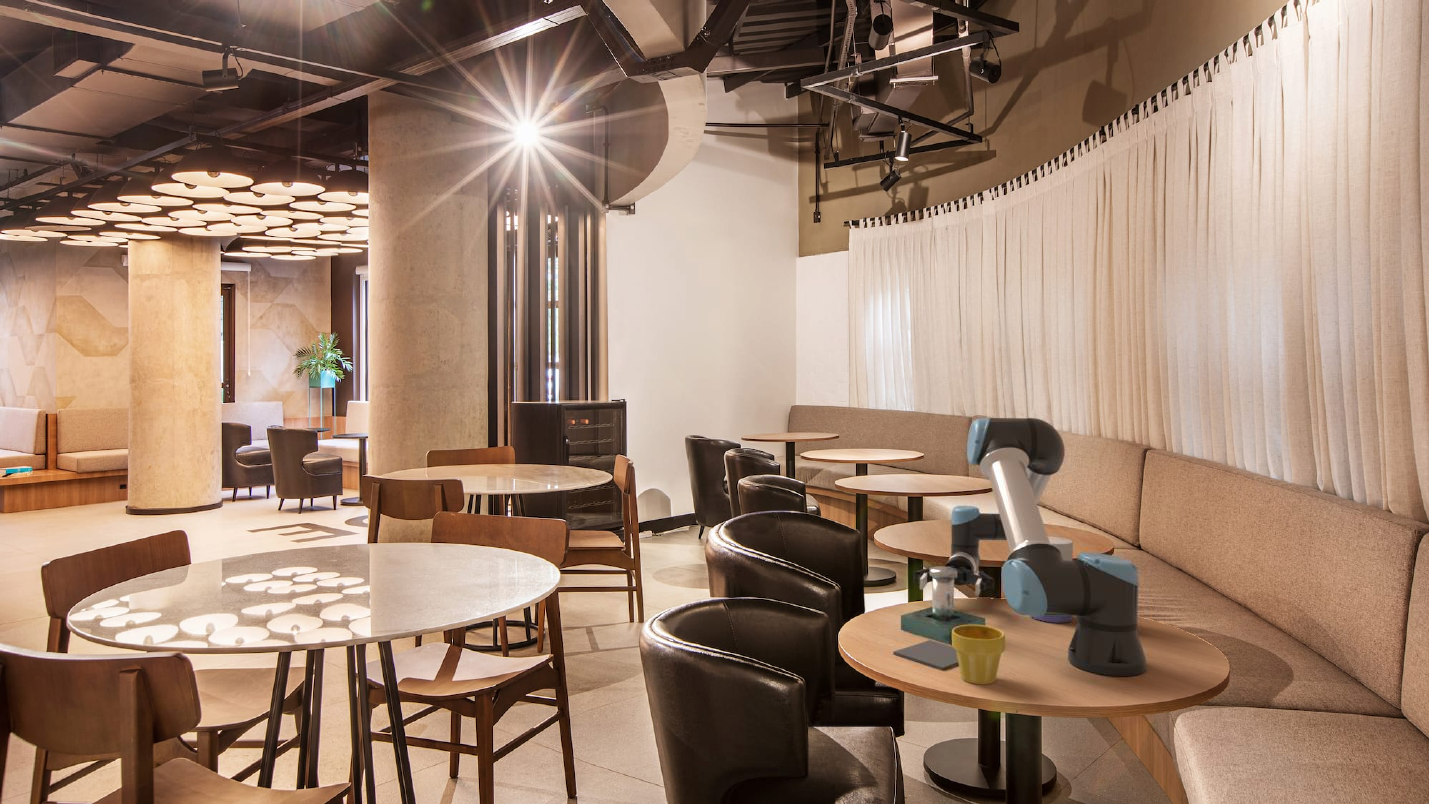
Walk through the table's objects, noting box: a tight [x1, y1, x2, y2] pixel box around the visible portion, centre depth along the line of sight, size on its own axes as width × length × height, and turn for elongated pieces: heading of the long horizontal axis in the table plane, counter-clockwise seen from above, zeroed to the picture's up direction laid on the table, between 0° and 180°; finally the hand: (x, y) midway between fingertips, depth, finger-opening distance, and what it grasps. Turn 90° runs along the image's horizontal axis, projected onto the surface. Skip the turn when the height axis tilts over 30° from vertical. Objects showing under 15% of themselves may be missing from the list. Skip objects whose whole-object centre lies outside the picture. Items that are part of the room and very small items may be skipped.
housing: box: [900, 606, 986, 645], centre depth 205 cm, size 14×14×4 cm
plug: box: [929, 565, 957, 622], centre depth 205 cm, size 6×6×15 cm
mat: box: [892, 639, 959, 671], centre depth 187 cm, size 13×13×1 cm
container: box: [1030, 535, 1074, 624], centre depth 216 cm, size 10×10×20 cm
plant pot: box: [951, 625, 1006, 685], centre depth 173 cm, size 10×10×10 cm
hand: (948, 587), depth 214 cm, fingers open, 13 cm apart
